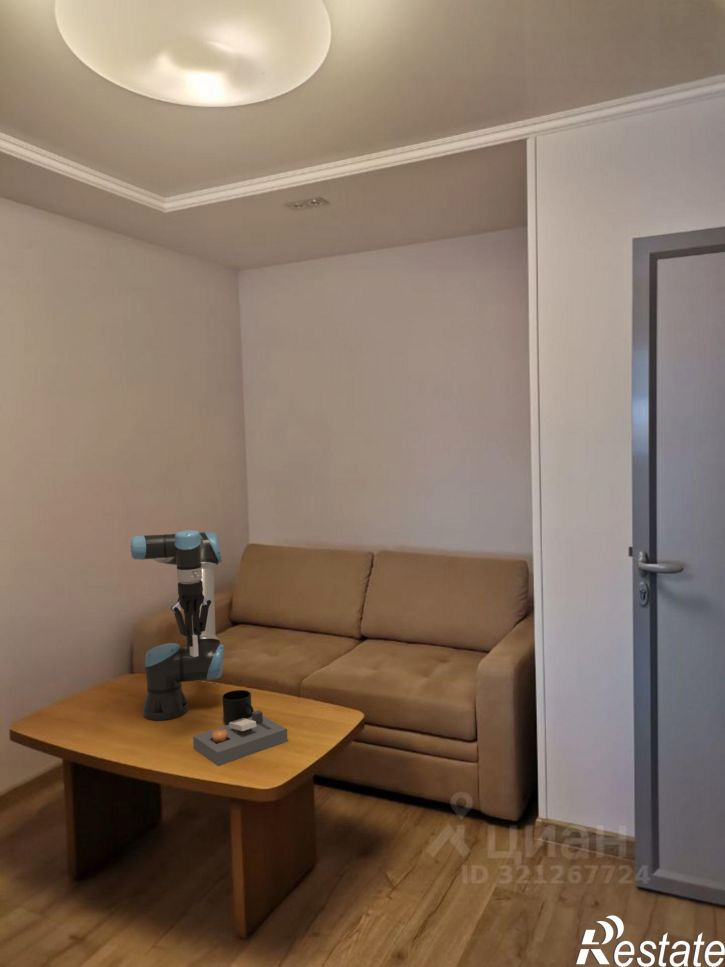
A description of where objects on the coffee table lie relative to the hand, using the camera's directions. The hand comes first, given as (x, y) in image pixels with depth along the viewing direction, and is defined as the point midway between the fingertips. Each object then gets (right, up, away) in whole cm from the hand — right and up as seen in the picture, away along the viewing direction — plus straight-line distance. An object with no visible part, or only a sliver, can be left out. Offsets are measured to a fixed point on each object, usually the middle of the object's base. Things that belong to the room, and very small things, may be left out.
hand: (194, 655), depth 228 cm
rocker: (+15, -21, -1) cm, 26 cm away
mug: (+12, -26, +17) cm, 34 cm away
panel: (+15, -28, -1) cm, 31 cm away
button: (+9, -28, -5) cm, 30 cm away
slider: (+19, -23, +6) cm, 30 cm away
